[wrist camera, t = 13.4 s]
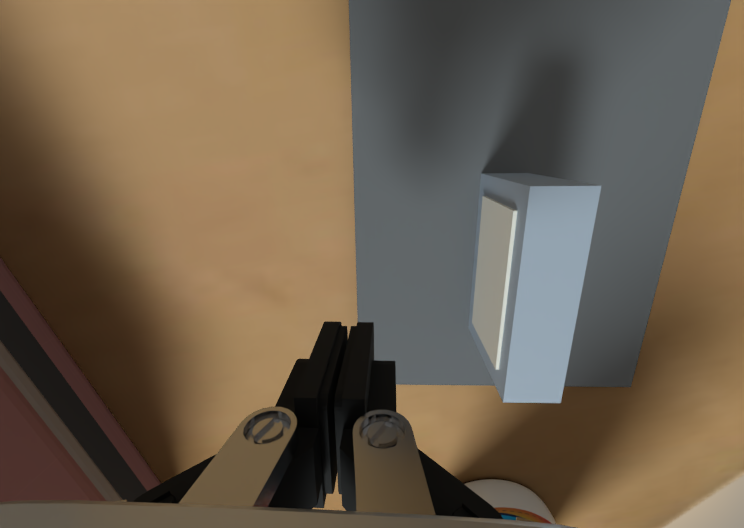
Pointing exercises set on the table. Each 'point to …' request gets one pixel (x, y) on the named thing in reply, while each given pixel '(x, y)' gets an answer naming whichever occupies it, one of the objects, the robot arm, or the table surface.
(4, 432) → the toaster
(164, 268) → the table surface
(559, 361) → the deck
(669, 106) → the mat
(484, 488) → the fruit juice
